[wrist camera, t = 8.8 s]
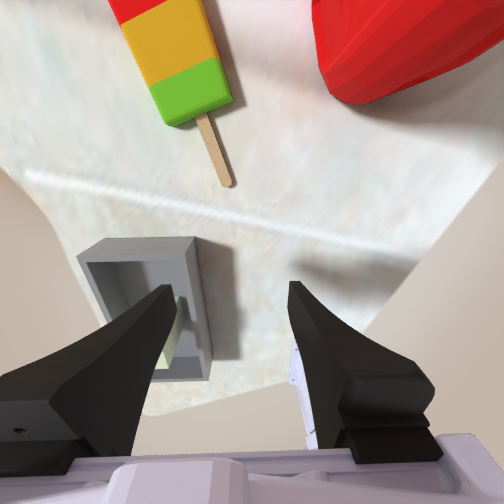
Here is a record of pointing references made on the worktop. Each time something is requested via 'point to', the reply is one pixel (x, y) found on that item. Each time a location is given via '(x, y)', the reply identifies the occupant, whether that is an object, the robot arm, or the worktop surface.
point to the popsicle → (178, 63)
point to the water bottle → (398, 42)
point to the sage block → (172, 338)
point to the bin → (145, 281)
